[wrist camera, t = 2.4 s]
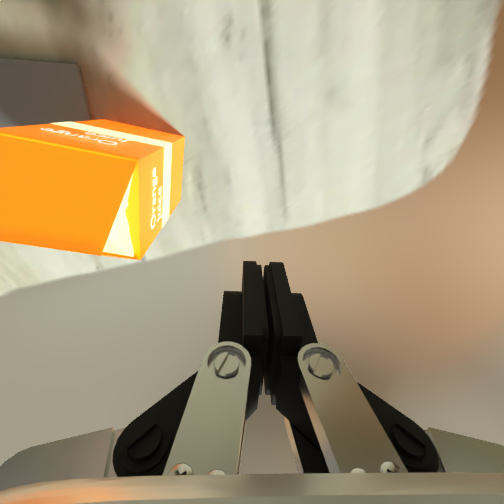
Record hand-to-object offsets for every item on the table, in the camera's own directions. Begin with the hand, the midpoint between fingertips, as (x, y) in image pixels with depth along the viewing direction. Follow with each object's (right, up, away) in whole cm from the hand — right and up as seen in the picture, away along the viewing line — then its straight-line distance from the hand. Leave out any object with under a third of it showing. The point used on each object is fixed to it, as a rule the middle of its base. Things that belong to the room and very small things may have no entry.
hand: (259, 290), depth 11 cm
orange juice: (-13, +12, +19) cm, 26 cm away
